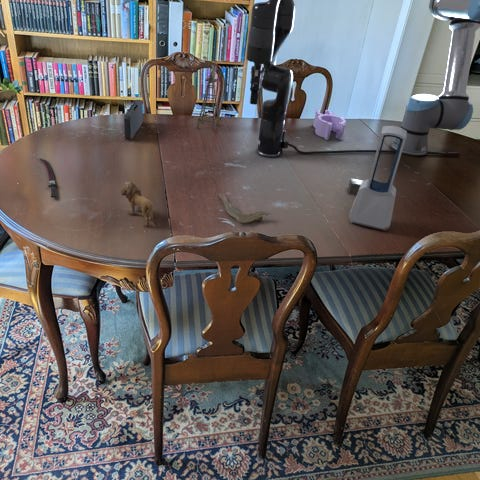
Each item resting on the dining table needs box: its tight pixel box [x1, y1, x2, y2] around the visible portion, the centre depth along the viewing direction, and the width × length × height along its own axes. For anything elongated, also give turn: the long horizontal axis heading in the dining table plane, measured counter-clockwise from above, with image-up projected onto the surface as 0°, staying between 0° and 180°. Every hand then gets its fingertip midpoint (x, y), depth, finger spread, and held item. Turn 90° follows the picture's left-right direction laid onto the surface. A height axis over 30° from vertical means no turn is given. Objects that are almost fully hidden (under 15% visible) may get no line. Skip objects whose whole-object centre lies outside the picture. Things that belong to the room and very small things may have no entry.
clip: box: [313, 109, 347, 141], centre depth 212 cm, size 20×12×7 cm, turn 11°
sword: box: [40, 158, 59, 198], centre depth 151 cm, size 31×3×1 cm, turn 26°
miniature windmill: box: [196, 55, 220, 132], centre depth 197 cm, size 9×8×30 cm
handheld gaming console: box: [123, 99, 144, 141], centre depth 190 cm, size 23×3×10 cm, turn 178°
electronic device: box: [348, 125, 407, 232], centre depth 137 cm, size 12×8×30 cm, turn 71°
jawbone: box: [218, 193, 271, 225], centre depth 143 cm, size 9×20×2 cm, turn 50°
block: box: [347, 178, 364, 196], centre depth 162 cm, size 4×4×4 cm
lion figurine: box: [119, 181, 159, 227], centre depth 134 cm, size 15×5×9 cm, turn 50°
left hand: (254, 100), depth 143 cm, fingers open, 8 cm apart
